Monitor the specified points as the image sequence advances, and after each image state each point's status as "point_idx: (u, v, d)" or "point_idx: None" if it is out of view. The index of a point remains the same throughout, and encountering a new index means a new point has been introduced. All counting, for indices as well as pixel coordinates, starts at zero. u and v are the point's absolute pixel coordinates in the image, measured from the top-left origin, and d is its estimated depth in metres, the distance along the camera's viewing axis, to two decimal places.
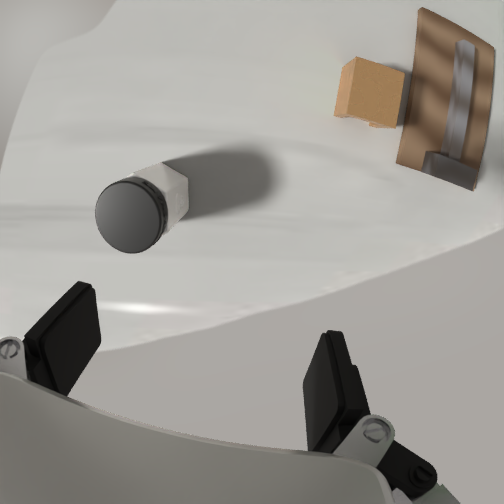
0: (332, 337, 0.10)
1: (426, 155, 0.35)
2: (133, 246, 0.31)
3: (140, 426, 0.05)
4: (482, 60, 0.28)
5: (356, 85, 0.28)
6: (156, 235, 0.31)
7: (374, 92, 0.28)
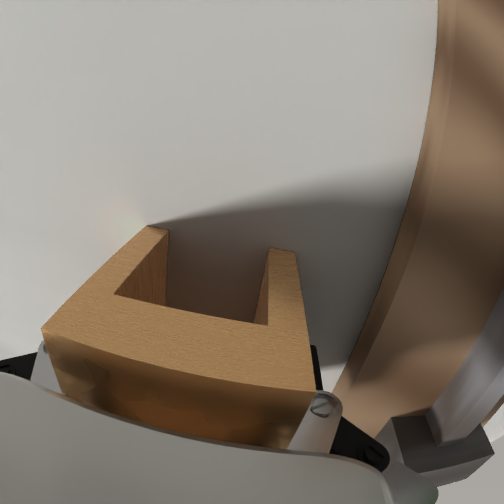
0: None
1: (388, 431, 0.13)
2: None
3: (140, 426, 0.05)
4: None
5: None
6: None
7: None
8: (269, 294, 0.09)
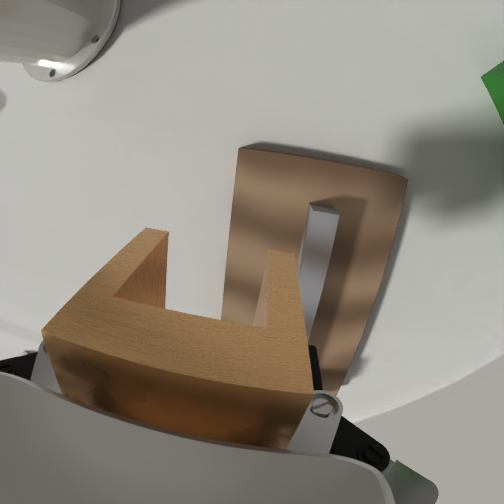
0: None
1: None
2: None
3: (140, 426, 0.05)
4: (372, 218, 0.24)
5: None
6: None
7: None
8: (268, 296, 0.09)
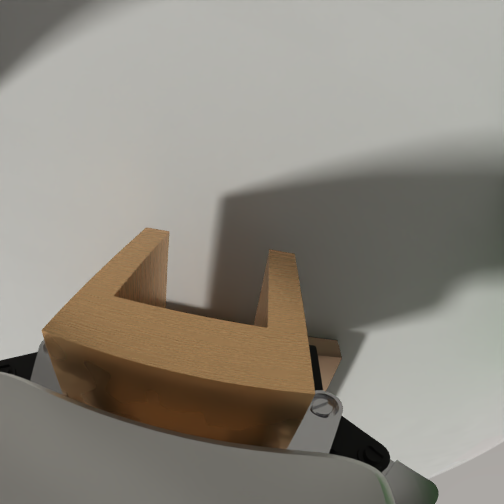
0: None
1: None
2: None
3: (140, 426, 0.05)
4: None
5: None
6: None
7: None
8: (269, 296, 0.09)
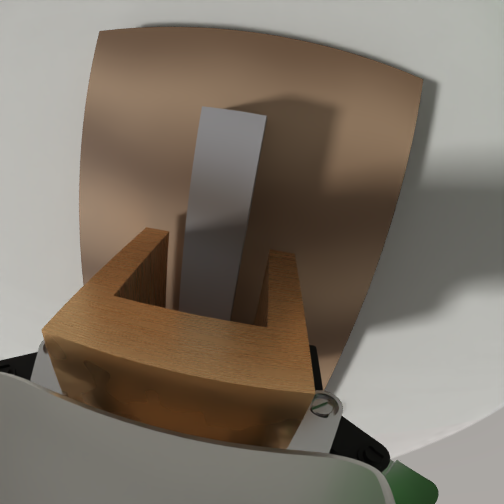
0: None
1: None
2: None
3: (140, 426, 0.05)
4: (352, 149, 0.11)
5: None
6: None
7: None
8: (269, 296, 0.09)
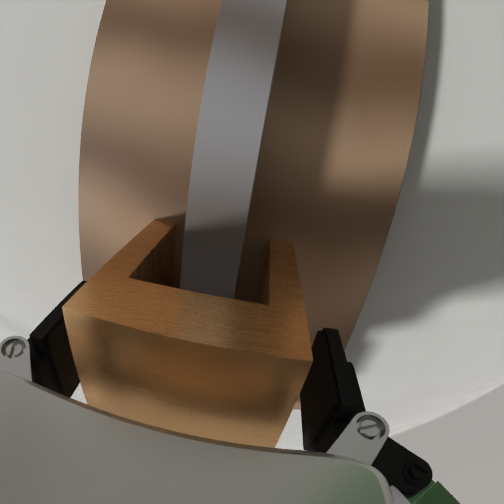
0: (327, 334, 0.10)
1: None
2: None
3: (140, 426, 0.05)
4: (374, 13, 0.09)
5: (99, 402, 0.08)
6: None
7: (166, 425, 0.08)
8: (270, 279, 0.10)
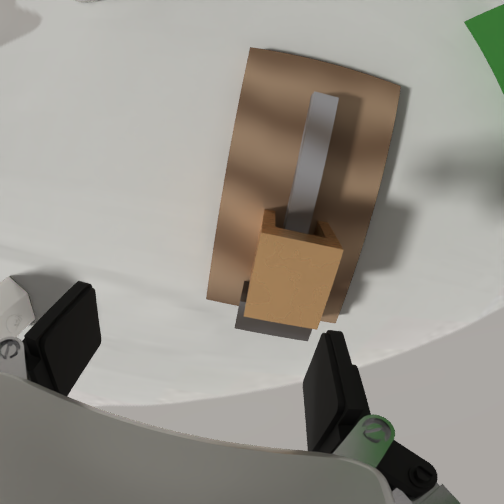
0: (332, 337, 0.10)
1: None
2: None
3: (140, 426, 0.05)
4: (369, 116, 0.24)
5: (259, 278, 0.22)
6: None
7: (287, 286, 0.23)
8: (323, 232, 0.24)
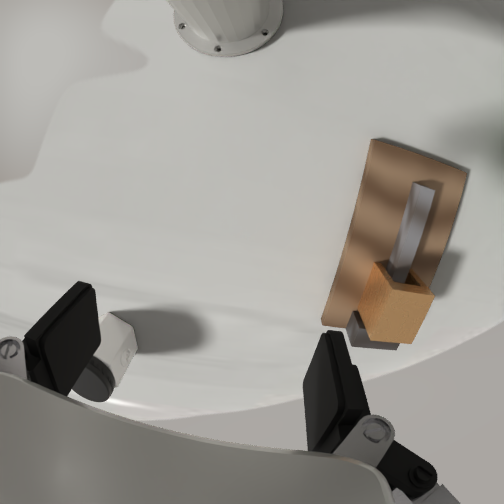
0: (332, 337, 0.10)
1: (352, 316, 0.39)
2: (93, 398, 0.36)
3: (140, 426, 0.05)
4: (446, 196, 0.32)
5: (385, 316, 0.31)
6: (107, 396, 0.35)
7: (400, 319, 0.32)
8: (416, 280, 0.33)
